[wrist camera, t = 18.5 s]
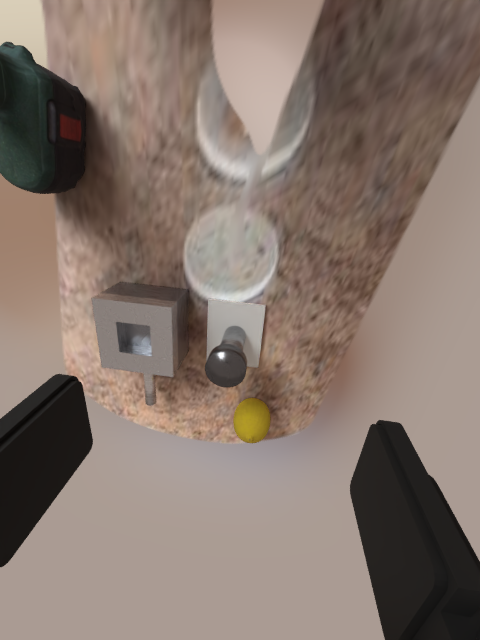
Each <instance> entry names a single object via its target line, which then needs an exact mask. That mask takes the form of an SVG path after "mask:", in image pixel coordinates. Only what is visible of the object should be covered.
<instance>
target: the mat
mask: <svg viewBox="0 0 480 640" xmlns="http://www.w3.org/2000/svg"><path fill="white" fill-rule="evenodd" d="M265 307H266V305H262V304H253V303H244V302H235V301H227V300H218V299H209V300H208V324H207V358H206V361H207V359H208V357H209V354H210V352H211V351H212V350H213V349H214V348H215V347H216V346H219V345H220V343H221V340H222V338H223V335H224V332H225V330H226V329H227V328H228V327H230V326H239V327H241V328H242V329H243V330H244V331H245V333H246V339H245V344H244V349H243V352H244V353H245V355H246V358H247V366H248V367H256V368H258V365H259V357H260V349H261V340H262V332H263V323H264V315H265Z"/></svg>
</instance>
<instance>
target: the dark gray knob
mask: <svg viewBox="0 0 480 640" xmlns="http://www.w3.org/2000/svg"><path fill="white" fill-rule="evenodd" d="M245 339H246V333H245V331H244V330H243V329H242V328H241V327H239V326H230V327H228V328H227V329H226V330H225V332H224V335H223V338H222V340H221V343H220V345H219V346H216V347H215V348H214V349H213V350H212V351H211V352H210V354H209V357H208V359H207V362H206V365H205V372H206V375H207V377H208V378H209V379H210V381H212V382H213V383H214V384H216V385H218V386H221V387H233V386H236V385H238V384H240V383H241V382H242V381H243V379H244V377H245V374H246V368H247V358H246V355H245V353H244V352H243V349H244V344H245Z"/></svg>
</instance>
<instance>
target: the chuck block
mask: <svg viewBox="0 0 480 640" xmlns="http://www.w3.org/2000/svg"><path fill="white" fill-rule="evenodd" d="M91 299H92V305H93V312H94V319H95V325H96V332H97V339H98V345H99V352H100V359H101V365H102V367H103V368H111V369H118V370H125V371H132V372H139V373H143V375H144V388H145V400H146V404H147V405H154V404H155V403H156V387H155V375H161V376H168V377H174V375H175V373H176V372H177V370H178V368H179V366H180V365H181V363H182V361H183V360H184V358H185V356H186V354H187V353H188V351H189V341H188V289H180V288H171V287H162V286H153V285H145V284H136V283H127V282H119V283H117V284H116V285H114V286H112V287H110V288H109V289H107V290H105V291H103V292H101V293H100V294H98V295H96V296H94V297H92V298H91Z"/></svg>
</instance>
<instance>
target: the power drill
mask: <svg viewBox="0 0 480 640" xmlns="http://www.w3.org/2000/svg"><path fill="white" fill-rule="evenodd" d="M85 105H86V104H85V100H84V97H83V95H82V94H81V92H80V91H79V89H78V87H76V86H73V85H71V84H70V83H68V82H67V81H66V80H64V79H62V78H60V77H59V76H57V75H56V74H54V73H53V72H51V71H49V70H47V69H46V68H44V67H42V66H41V65H39V64H36V62H35V61H34V59H33V56H32V54H31V53H30V52H29V51H28V50H27V49H26V48H25V47H24V46H20V45H17V46H16V45H14V44H13V43H11V42H5V43H3V44H2V45H1V46H0V173H1V174H2V176H3V177H4V178H5V179H6V180H8V181H9V182H10V183H11V184H13V185H15V186H16V187H19V188H21V189H24V190H27V191H30V192H33V193H40V194H46V193H47V194H49V193H60V192H65V191H67V190H69V189H71V188H74V187H75V186H76V183H77V181H78V180H79V179H80V178H81V176H82V175H83V173H84V170H85V166H84V150H85V133H86V119H85Z"/></svg>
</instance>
